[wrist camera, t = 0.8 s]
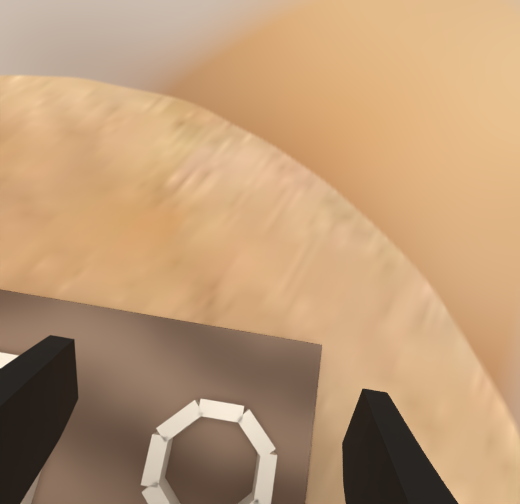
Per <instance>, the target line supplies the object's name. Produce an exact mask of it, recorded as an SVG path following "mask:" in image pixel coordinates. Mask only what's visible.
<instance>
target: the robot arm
mask: <svg viewBox="0 0 520 504" xmlns="http://www.w3.org/2000/svg"><path fill="white" fill-rule="evenodd" d="M77 401H78V383H77V369H76V354H75V340H74V339H71V338H65V337H59V336H53V335H49V336H48V337H46V338H45V339H43V340H42V341H40V342H39V343H37V344H36V345H34V346H33V347H31V348H30V349H28V350H27V351H25V352H24V353H22V354H21V355H19V356H18V357H16V358H15V359H13V360H12V361H10V362H9V363H8V364H6V365H5V366H3V367H2V368H0V504H20V503H21V502H22V500H23V499H24V497H25V495H26V494H27V492H28V490H29V489H30V487H31V486H32V484H33V482H34V481H35V479H36V477H37V476H38V474H39V473H40V471H41V469H42V468H43V466H44V464H45V463H46V461H47V459H48V458H49V456H50V454H51V453H52V451H53V449H54V448H55V446H56V444H57V443H58V441H59V439H60V438H61V435H62V433H63V431H64V429H65V427H66V425H67V423H68V421H69V419H70V416H71V414H72V412H73V410H74V407H75V405H76V403H77ZM342 451H343V483H344V493H345V501H346V504H458V502H457V501H456V500H455V498H454V497H453V495H452V494H451V492H450V491H449V489H448V488H447V487H446V485H445V484H444V482H443V481H442V479H441V478H440V476H439V475H438V473H437V472H436V470H435V469H434V467H433V466H432V464H431V462H430V461H429V459H428V458H427V456H426V455H425V453H424V452H423V450H422V449H421V447H420V445H419V444H418V442H417V441H416V439H415V437H414V436H413V434H412V432H411V431H410V429H409V428H408V426H407V424H406V423H405V421H404V419H403V418H402V416H401V414H400V413H399V411H398V409H397V408H396V406H395V404H394V403H393V401H392V399H391V398H390V396H389V395H388V393H386V392H380V391H374V390H368V389H362V392H361V394H360V397H359V400H358V403H357V405H356V408H355V411H354V413H353V416H352V419H351V421H350V424H349V427H348V430H347V432H346V435H345V438H344V440H343V443H342Z"/></svg>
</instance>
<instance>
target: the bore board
mask: <svg viewBox="0 0 520 504" xmlns="http://www.w3.org/2000/svg"><path fill="white" fill-rule="evenodd" d="M49 335H53V336H59V337H65V338H71V339H74V340H75V354H76V369H77V383H78V401H77V403H76V405H75V407H74V410H73V412H72V414H71V416H70V419H69V421H68V423H67V425H66V427H65V429H64V431H63V433H62V435H61V438H60V439H59V441H58V443H57V444H56V446H55V448H54V449H53V451H52V453H51V454H50V456H49V458H48V459H47V461H46V463H45V464H44V466H43V468H42V469H41V471H40V473H39V474H38V476H37V477H36V479H35V481H34V482H33V484H32V486H31V487H30V489H29V490H28V492H27V494H26V495H25V497H24V499H23V500H22V502H21V503H20V504H305V499H306V490H307V480H308V471H309V462H310V452H311V443H312V434H313V424H314V415H315V406H316V397H317V387H318V378H319V369H320V359H321V350H322V345H319V344H314V343H308V342H302V341H296V340H290V339H285V338H279V337H273V336H267V335H261V334H255V333H250V332H244V331H238V330H232V329H226V328H221V327H215V326H209V325H203V324H197V323H191V322H186V321H180V320H174V319H168V318H162V317H156V316H151V315H145V314H139V313H133V312H127V311H122V310H116V309H110V308H104V307H98V306H92V305H87V304H81V303H75V302H69V301H63V300H58V299H52V298H46V297H40V296H34V295H28V294H23V293H17V292H11V291H5V290H0V368H2V367H3V366H5V365H6V364H8V363H9V362H10V361H12V360H13V359H15V358H16V357H18V356H19V355H21V354H22V353H24V352H25V351H27V350H28V349H30V348H31V347H33V346H34V345H36V344H37V343H39V342H40V341H42V340H43V339H45V338H46V337H48V336H49Z"/></svg>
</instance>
